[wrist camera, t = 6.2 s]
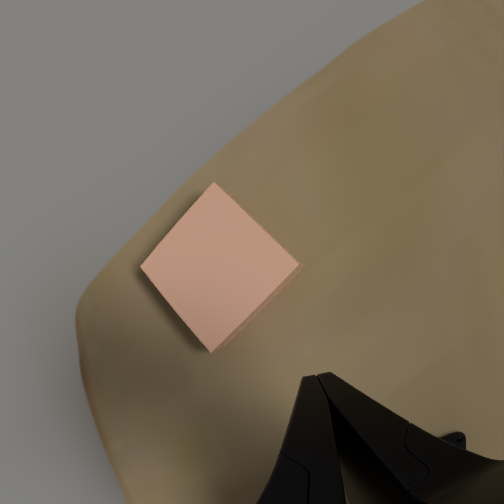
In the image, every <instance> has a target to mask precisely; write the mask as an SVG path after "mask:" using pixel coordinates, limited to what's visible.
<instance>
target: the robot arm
mask: <svg viewBox="0 0 504 504" xmlns="http://www.w3.org/2000/svg"><path fill="white" fill-rule="evenodd" d="M459 437H461V439H460V440H458V441H457V439H458V438H459ZM343 486H344V487H343ZM344 489H345V491H346V494H347V496H348V499H349V501H350V504H504V460H494V459H489V458H486V457H483V456H480V455H478V454H475V453H473V452H470V451H468V450H466V437H465V435H464V433H463V432H457V433H455V434H452V435H449V436H447V437H444V438H438V437H435V436H433V435H432V434H430V433H428V432H426V431H424V430H422V429H421V428H419V427H417V426H416V425H414V424H412V423H410V424H409V421H407V420H405V419H404V418H402V417H401V416H399V415H397V414H396V413H394V412H392V411H391V410H389V409H388V408H386V407H384V406H383V405H381V404H380V403H378V402H376V401H375V400H373V399H372V398H370V397H368V396H367V395H365V394H364V393H362V392H361V391H359V390H358V389H356V388H354V387H353V386H351V385H350V384H348V383H347V382H345V381H344V380H342V379H341V378H339V377H338V376H336V375H335V374H333V373H331V372H327V373H321V374H318V375H317V376H316V375H310V376H304V377H302V379H301V382H300V386H299V390H298V393H297V397H296V400H295V404H294V407H293V411H292V414H291V417H290V421H289V424H288V427H287V430H286V434H285V437H284V440H283V443H282V446H281V450H280V454H279V455H278V458H277V461H276V464H275V467H274V469H273V472H272V474H271V477H270V479H269V481H268V483H267V485H266V487H265V489H264V491H263V493H262V494H261V496H260V498H259V500H258V501H257V503H256V504H346V500H345V493H344Z"/></svg>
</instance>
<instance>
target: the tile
mask: <svg viewBox="0 0 504 504" xmlns="http://www.w3.org/2000/svg"><path fill="white" fill-rule="evenodd" d="M140 267H141V268H142V270H143V271H144V272H145V273H146V275H147V276H148V277H149V279H150V280H151V281H152V282H153V284H154V285H155V286H156V288H157V289H158V290H159V291H160V293H161V294H162V295H163V296H164V298H165V299H166V300H167V301H168V303H169V304H170V305H171V306H172V308H173V309H174V310H175V311H176V312H177V314H178V315H179V316H180V317H181V318H182V320H183V321H184V322H185V323H186V324H187V326H188V327H189V328H190V329H191V330H192V332H193V333H194V334H195V335H196V336H197V337H198V339H199V340H200V341H201V342H202V343H203V344H204V345H205V347H206V348H207V349H208V350H209V351H210V352H211V353H212V352H214V351H216V350H219V349H221V348H223V347H225V346H226V345H227V344H228V343H229V342H230V341H231V340H232V339H233V338H234V337H235V336H236V335H237V334H238V333H239V332H240V331H241V330H242V329H243V328H244V327H245V326H246V325H247V324H248V323H249V322H250V321H251V320H252V319H253V318H254V317H255V316H256V315H257V314H258V313H259V312H260V311H261V310H262V309H263V308H264V307H265V306H266V305H267V304H268V303H269V302H270V301H271V300H272V299H273V298H274V297H275V296H276V295H277V294H278V293H279V292H280V291H281V290H282V289H283V288H284V287H285V286H286V285H287V284H288V283H289V282H290V281H291V280H292V279H293V278H294V277H295V276H296V275H297V274H298V273H299V272H300V271H301V270H302V269H303V268H304V267H303V266H302V265H301V264H300V263H299V262H298V261H297V260H296V259H295V258H294V257H293V256H292V255H291V254H290V253H289V252H288V251H287V250H286V249H285V248H284V247H283V246H282V245H281V244H280V243H279V242H278V241H277V240H276V239H275V238H274V237H273V236H272V235H271V234H270V233H269V232H268V231H267V230H266V229H264V228H263V227H262V226H261V225H260V224H259V223H258V222H257V221H256V220H255V219H254V218H253V217H252V216H251V215H250V214H249V213H248V212H247V211H246V210H245V209H244V208H243V207H242V206H240V205H239V204H238V203H237V202H236V201H235V200H234V199H233V198H232V197H231V196H230V195H229V194H228V193H227V192H226V191H225V190H223V189H222V188H221V187H220V186H218V185H217V184H216V183H215V182H213V183H212V184H211V185H210V187H209V188H208V189H207V190H206V191H205V192H204V193H203V194H202V195H201V196H200V198H199V199H198V200H197V201H196V202H195V203H194V204H193V205H192V206H191V208H190V209H189V210H188V211H187V212H186V213H185V214H184V215H183V217H182V218H181V219H180V220H179V221H178V222H177V223H176V225H175V226H174V227H173V228H172V229H171V230H170V232H169V233H168V234H167V235H166V236H165V237H164V239H163V240H162V241H161V242H160V243H159V244H158V246H157V247H156V248H155V249H154V250H153V252H152V253H151V254H150V255H149V256H148V258H147V259H146V260H145V261H144V262H143V264H142V265H141V266H140Z"/></svg>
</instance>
